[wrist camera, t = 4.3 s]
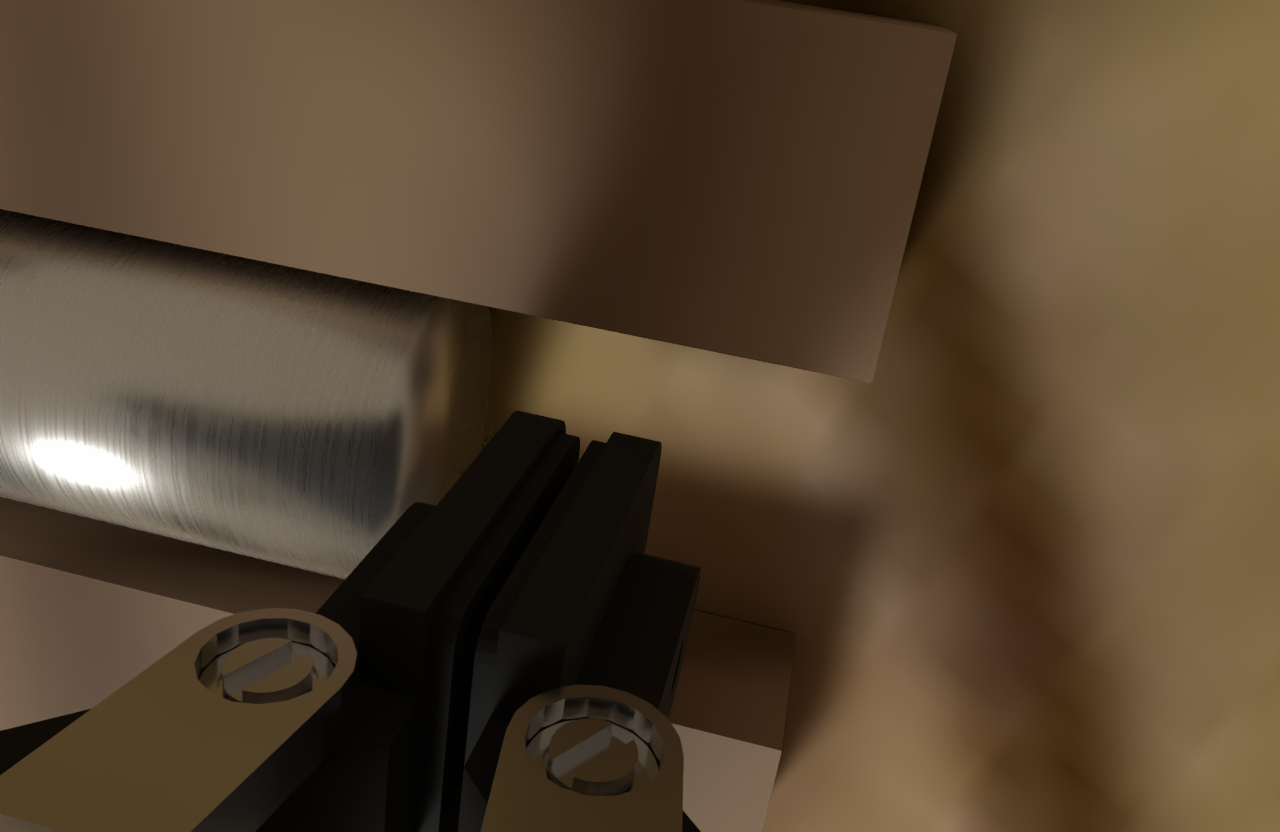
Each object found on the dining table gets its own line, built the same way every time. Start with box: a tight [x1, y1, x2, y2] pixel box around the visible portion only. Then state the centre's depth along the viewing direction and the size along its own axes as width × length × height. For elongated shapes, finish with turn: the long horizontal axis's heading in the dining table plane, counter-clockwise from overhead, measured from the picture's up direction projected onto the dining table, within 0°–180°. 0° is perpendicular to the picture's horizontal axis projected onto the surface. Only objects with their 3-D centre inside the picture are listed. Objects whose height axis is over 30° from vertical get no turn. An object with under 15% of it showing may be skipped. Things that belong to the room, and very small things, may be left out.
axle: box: [0, 209, 493, 579], centre depth 14 cm, size 10×4×4 cm, turn 82°
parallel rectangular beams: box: [0, 0, 957, 832], centre depth 14 cm, size 18×12×3 cm, turn 82°
